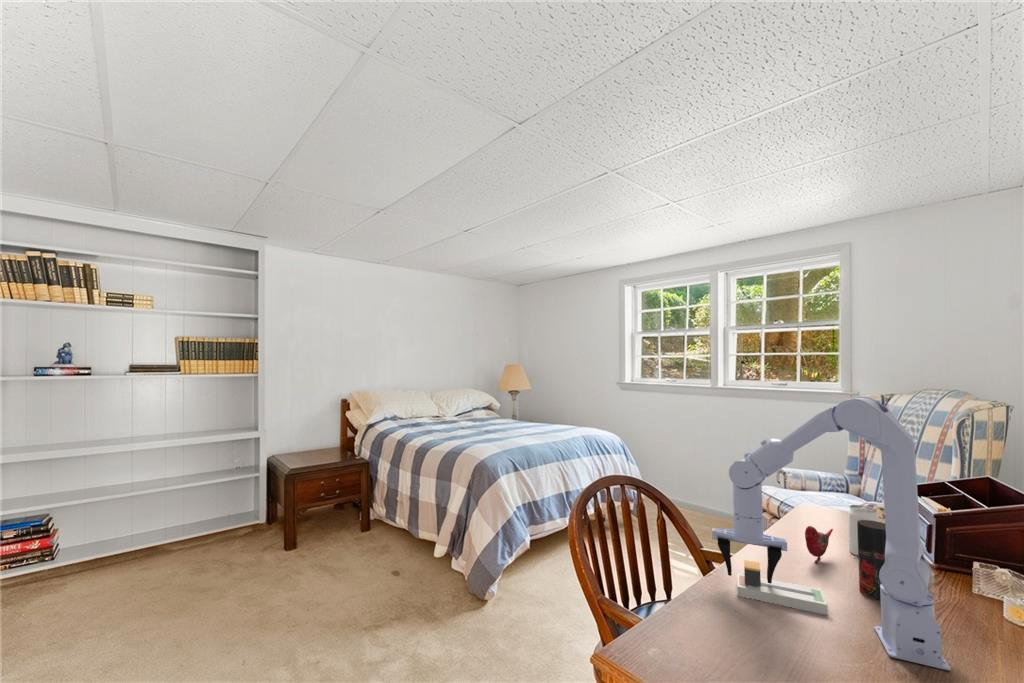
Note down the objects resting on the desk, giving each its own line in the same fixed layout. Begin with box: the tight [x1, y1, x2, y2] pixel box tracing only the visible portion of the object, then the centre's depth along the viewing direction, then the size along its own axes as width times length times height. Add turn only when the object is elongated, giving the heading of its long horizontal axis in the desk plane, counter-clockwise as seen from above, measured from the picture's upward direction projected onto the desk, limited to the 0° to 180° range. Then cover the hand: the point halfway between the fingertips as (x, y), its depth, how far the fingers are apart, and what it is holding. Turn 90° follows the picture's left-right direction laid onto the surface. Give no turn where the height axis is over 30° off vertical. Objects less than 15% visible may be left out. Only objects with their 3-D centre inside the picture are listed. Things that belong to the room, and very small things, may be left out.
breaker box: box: [736, 573, 829, 616], centre depth 96 cm, size 7×16×2 cm, turn 63°
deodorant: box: [857, 520, 886, 602], centre depth 98 cm, size 6×6×15 cm
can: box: [847, 504, 880, 557], centre depth 119 cm, size 6×6×12 cm
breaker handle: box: [743, 559, 761, 586], centre depth 98 cm, size 4×3×3 cm
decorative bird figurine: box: [804, 525, 834, 565], centre depth 114 cm, size 3×18×10 cm, turn 127°
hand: (749, 577), depth 99 cm, fingers open, 7 cm apart
